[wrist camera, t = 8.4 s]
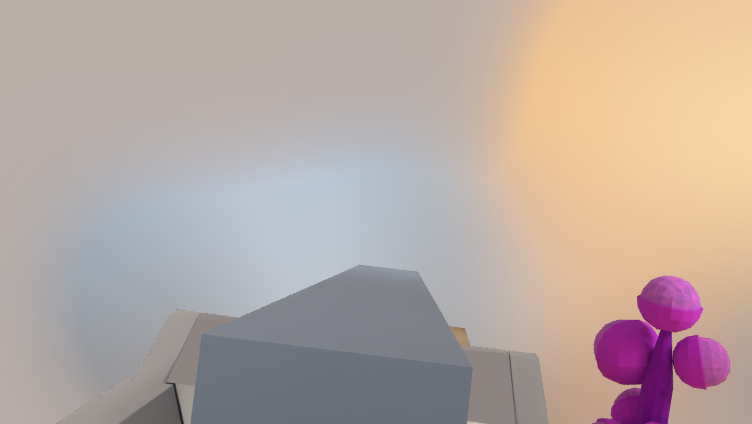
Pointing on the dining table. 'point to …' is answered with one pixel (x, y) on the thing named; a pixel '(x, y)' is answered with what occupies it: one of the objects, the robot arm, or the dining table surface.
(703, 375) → the decorative plant
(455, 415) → the beam
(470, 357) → the robot arm
